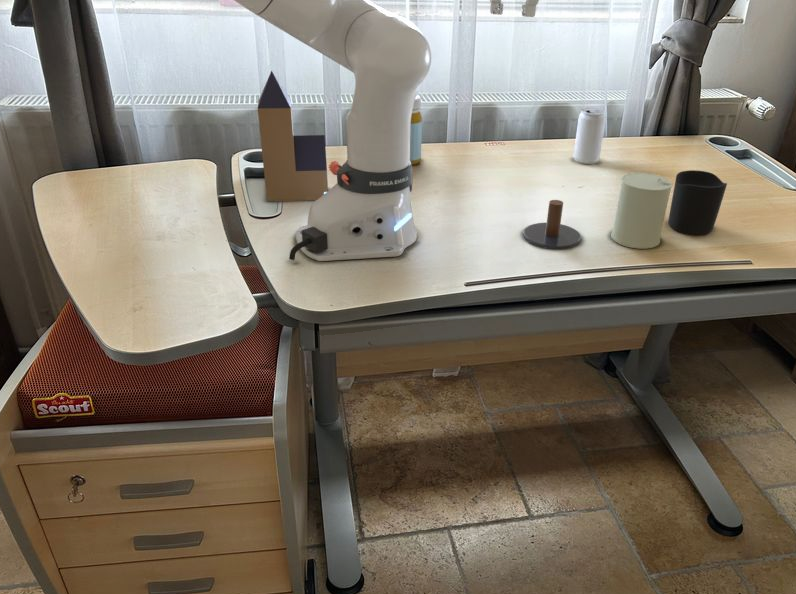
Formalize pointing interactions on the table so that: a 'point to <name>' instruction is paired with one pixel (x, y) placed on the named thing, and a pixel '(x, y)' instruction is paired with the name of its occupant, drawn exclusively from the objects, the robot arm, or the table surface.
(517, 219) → the table surface
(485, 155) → the table surface
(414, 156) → the bottle
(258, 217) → the table surface
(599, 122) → the beverage can
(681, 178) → the pen holder
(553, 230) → the lid
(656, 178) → the can
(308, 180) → the toy building blocks
